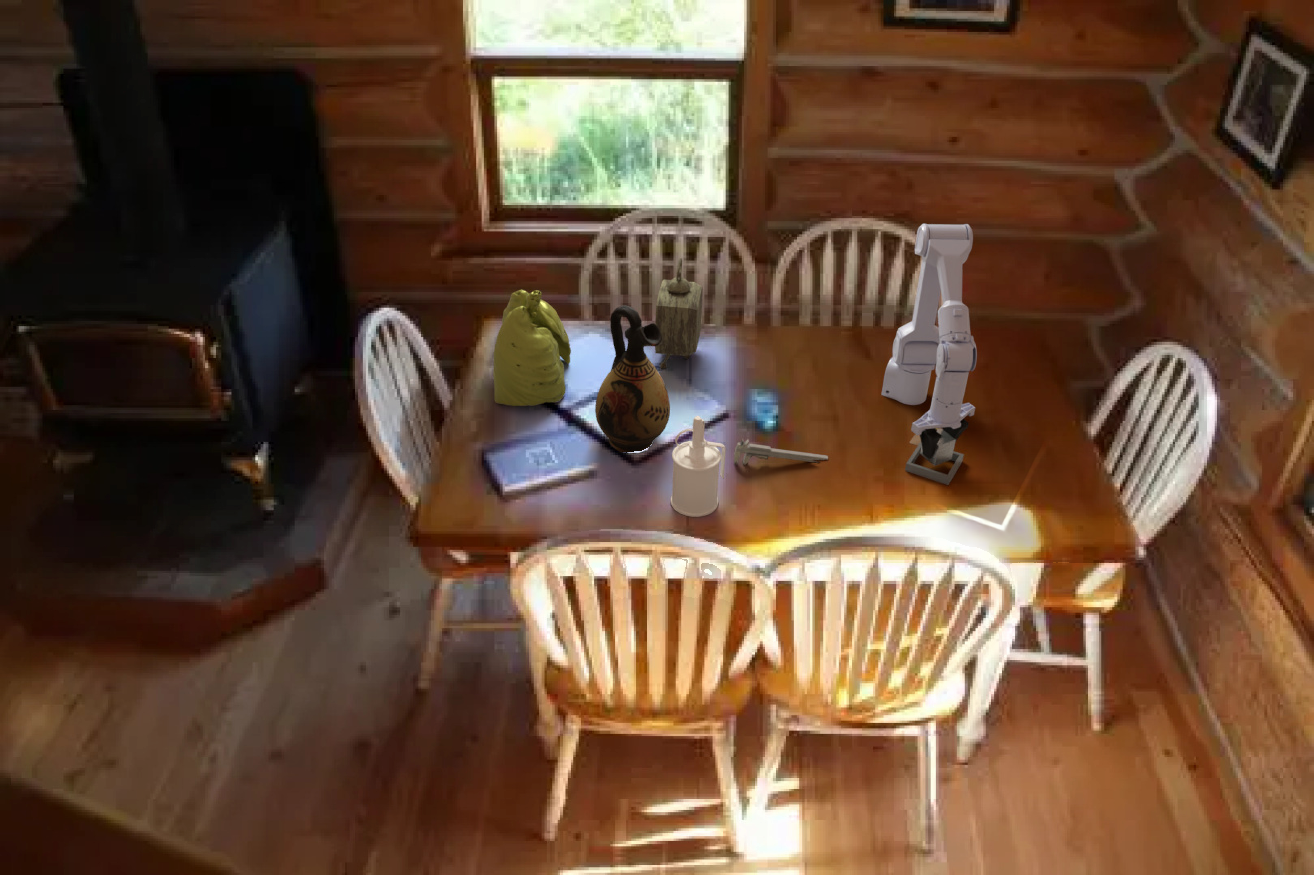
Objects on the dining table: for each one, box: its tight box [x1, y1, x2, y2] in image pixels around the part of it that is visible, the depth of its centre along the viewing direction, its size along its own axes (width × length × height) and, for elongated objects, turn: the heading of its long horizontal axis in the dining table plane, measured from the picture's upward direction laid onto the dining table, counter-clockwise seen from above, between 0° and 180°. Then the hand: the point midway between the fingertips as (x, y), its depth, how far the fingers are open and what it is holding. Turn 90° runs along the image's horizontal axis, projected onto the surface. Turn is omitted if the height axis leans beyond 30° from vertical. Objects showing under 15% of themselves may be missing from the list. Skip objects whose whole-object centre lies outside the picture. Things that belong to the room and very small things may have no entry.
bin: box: [904, 442, 965, 486], centre depth 224 cm, size 9×9×3 cm
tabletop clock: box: [654, 257, 704, 370], centre depth 251 cm, size 14×9×25 cm, turn 172°
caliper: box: [733, 438, 829, 466], centre depth 224 cm, size 20×1×6 cm, turn 94°
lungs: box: [492, 289, 572, 407], centre depth 241 cm, size 25×16×24 cm, turn 176°
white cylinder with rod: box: [670, 415, 727, 518], centre depth 210 cm, size 10×9×20 cm
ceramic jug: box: [594, 304, 671, 454], centre depth 223 cm, size 17×15×30 cm
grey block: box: [919, 427, 957, 467], centre depth 222 cm, size 4×4×5 cm
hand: (936, 452), depth 223 cm, fingers closed on grey block, 4 cm apart
